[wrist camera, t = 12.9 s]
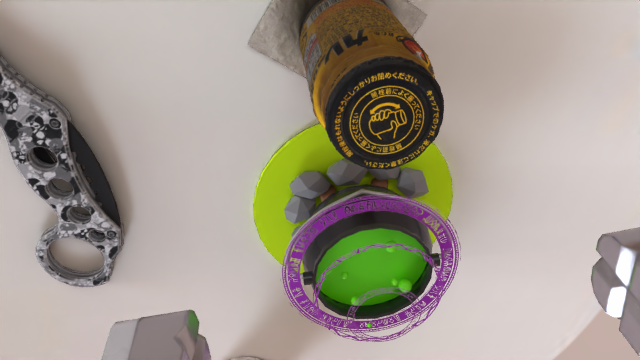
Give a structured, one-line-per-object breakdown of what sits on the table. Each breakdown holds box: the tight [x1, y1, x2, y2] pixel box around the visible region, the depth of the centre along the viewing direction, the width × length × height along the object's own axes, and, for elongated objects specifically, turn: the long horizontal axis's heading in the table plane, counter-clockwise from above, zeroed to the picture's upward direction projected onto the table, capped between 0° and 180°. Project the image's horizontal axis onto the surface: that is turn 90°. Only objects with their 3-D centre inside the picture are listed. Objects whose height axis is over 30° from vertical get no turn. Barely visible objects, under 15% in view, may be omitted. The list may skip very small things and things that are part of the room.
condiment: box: [248, 0, 444, 170], centre depth 27 cm, size 7×8×12 cm
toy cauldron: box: [253, 124, 461, 342], centre depth 35 cm, size 15×15×11 cm
